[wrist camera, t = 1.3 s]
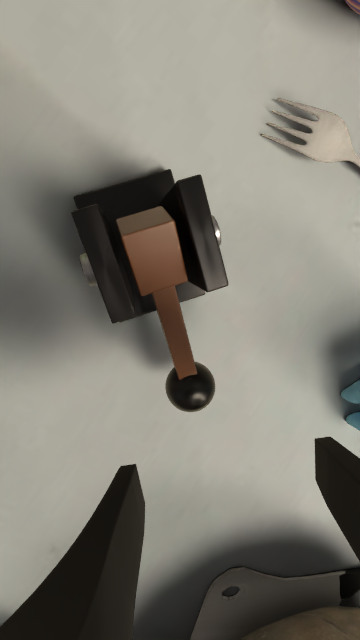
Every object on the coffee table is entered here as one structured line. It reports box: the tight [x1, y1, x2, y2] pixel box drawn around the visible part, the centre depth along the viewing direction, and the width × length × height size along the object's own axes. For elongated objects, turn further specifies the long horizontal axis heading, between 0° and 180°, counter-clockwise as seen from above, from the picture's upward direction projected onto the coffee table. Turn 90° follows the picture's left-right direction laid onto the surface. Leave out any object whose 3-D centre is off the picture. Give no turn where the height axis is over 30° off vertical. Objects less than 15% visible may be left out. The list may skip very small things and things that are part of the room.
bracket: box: [71, 169, 228, 323], centre depth 16 cm, size 8×6×9 cm
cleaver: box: [190, 567, 360, 640], centre depth 31 cm, size 27×1×10 cm
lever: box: [116, 206, 215, 412], centre depth 16 cm, size 12×3×3 cm, turn 17°
